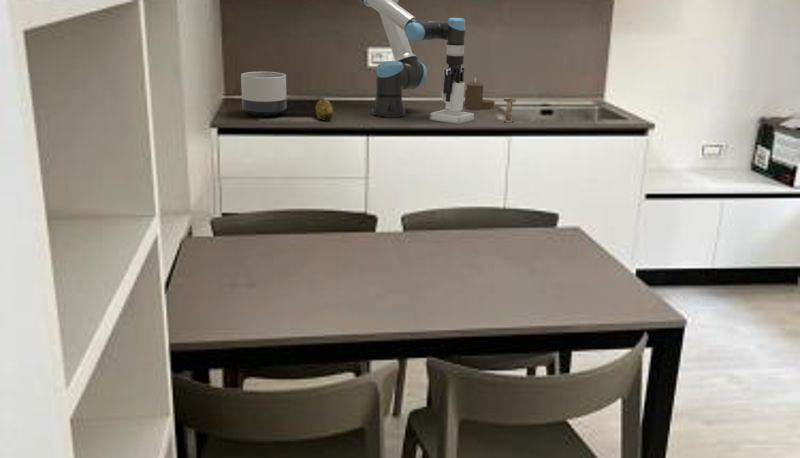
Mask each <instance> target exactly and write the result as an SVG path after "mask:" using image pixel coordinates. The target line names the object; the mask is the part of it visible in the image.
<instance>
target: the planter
mask: <svg viewBox="0 0 800 458" xmlns="http://www.w3.org/2000/svg"><path fill="white" fill-rule="evenodd" d="M240 80H241V81H240V83H241V109H242V110H244V111H246V112H247V111H248V113H250V114H251V115H253V116H256V117H261V116H268V117H272V116H271V115H274V116H275V115H279V114H280V113H281V112H282V111H285V110H287V74H285V73H282V72H278V71H277V72H275V71H249V72H244V73H243V72H242V73H241V74H240Z"/></svg>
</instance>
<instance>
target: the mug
mask: <svg viewBox="0 0 800 458" xmlns="http://www.w3.org/2000/svg"><path fill="white" fill-rule="evenodd" d="M465 83H466V82H465V81H464V82H460V83H456V81H454V83H453V84H452V92H451V94H452V109H448V110H453V111H460V112H461V111H463V110H464V100H465V85H466V84H465ZM443 89H444V85H443V87H442V89H441V97H442V100H443V101H442V102H443V103H446V96H445V94H444V93H443Z"/></svg>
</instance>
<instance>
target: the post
mask: <svg viewBox="0 0 800 458" xmlns="http://www.w3.org/2000/svg"><path fill="white" fill-rule="evenodd" d="M503 102H506V107H505V108H506V110H505V111H506V112H505V118H504V119H503V122H504V121H513V122H514V120H513V119H512V112H513V111H512V110H513V103H517V99H516V98H512V97H504V98H503Z"/></svg>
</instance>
